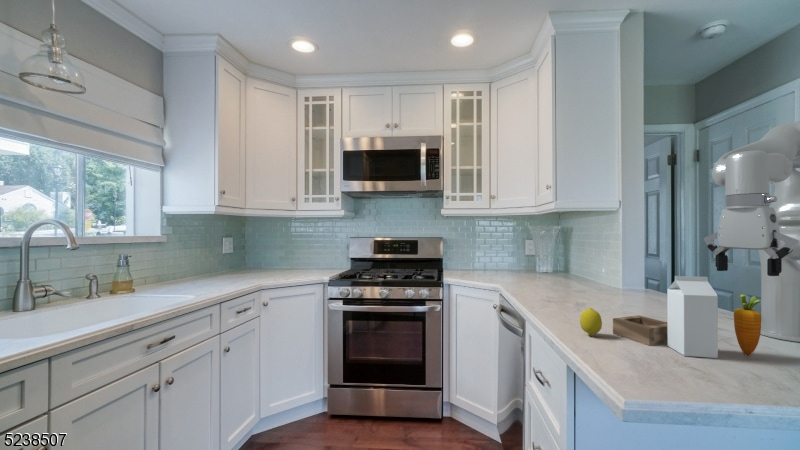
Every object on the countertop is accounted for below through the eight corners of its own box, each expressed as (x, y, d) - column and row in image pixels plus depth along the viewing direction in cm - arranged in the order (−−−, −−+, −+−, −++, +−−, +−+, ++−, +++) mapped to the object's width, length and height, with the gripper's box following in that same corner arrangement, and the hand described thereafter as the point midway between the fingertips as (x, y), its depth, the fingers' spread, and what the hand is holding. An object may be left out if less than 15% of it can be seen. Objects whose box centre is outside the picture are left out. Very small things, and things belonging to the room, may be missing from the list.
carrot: (753, 353, 84) (753, 293, 84) (767, 361, 80) (767, 297, 80) (728, 351, 86) (728, 291, 86) (740, 358, 81) (740, 295, 81)
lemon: (602, 334, 99) (602, 307, 99) (601, 340, 94) (601, 311, 94) (580, 331, 102) (580, 304, 102) (579, 336, 97) (579, 308, 97)
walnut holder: (639, 330, 103) (639, 315, 103) (677, 341, 93) (677, 325, 93) (612, 333, 100) (612, 318, 100) (649, 345, 90) (649, 328, 90)
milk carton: (718, 358, 81) (717, 279, 81) (684, 356, 82) (683, 278, 83) (698, 348, 88) (698, 274, 88) (667, 346, 89) (667, 274, 90)
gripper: (806, 200, 76) (806, 277, 76) (714, 205, 92) (714, 268, 92) (787, 199, 73) (787, 278, 73) (695, 204, 90) (695, 269, 90)
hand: (746, 273), depth 83 cm, fingers open, 9 cm apart
